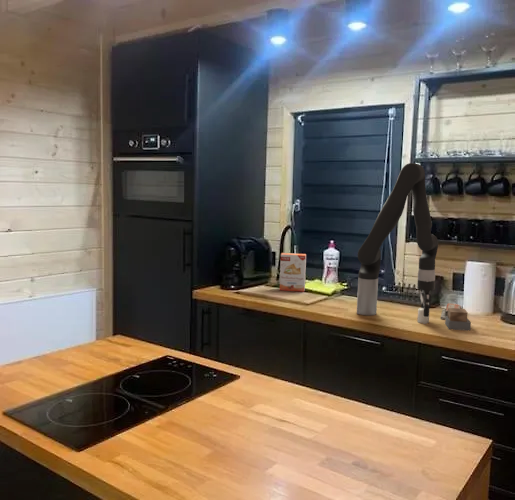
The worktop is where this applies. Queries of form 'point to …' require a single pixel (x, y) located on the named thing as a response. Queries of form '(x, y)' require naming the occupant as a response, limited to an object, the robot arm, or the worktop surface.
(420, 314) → the cream cylinder
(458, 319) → the walnut block
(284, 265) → the cracker box
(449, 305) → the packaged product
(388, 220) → the robot arm
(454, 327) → the charcoal base block
